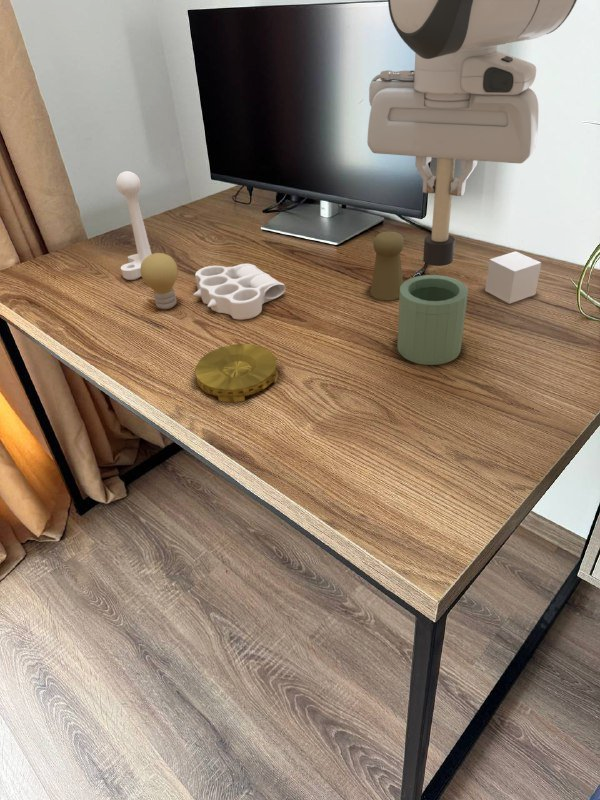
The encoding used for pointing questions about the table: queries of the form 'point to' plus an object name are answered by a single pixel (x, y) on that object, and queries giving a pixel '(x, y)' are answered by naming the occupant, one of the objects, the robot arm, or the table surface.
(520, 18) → the robot arm
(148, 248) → the joystick
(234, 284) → the white brass knuckles
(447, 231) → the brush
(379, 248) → the brown pawn
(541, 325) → the table surface
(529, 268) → the white cube
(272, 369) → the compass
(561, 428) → the table surface
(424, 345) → the jar
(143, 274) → the light bulb
